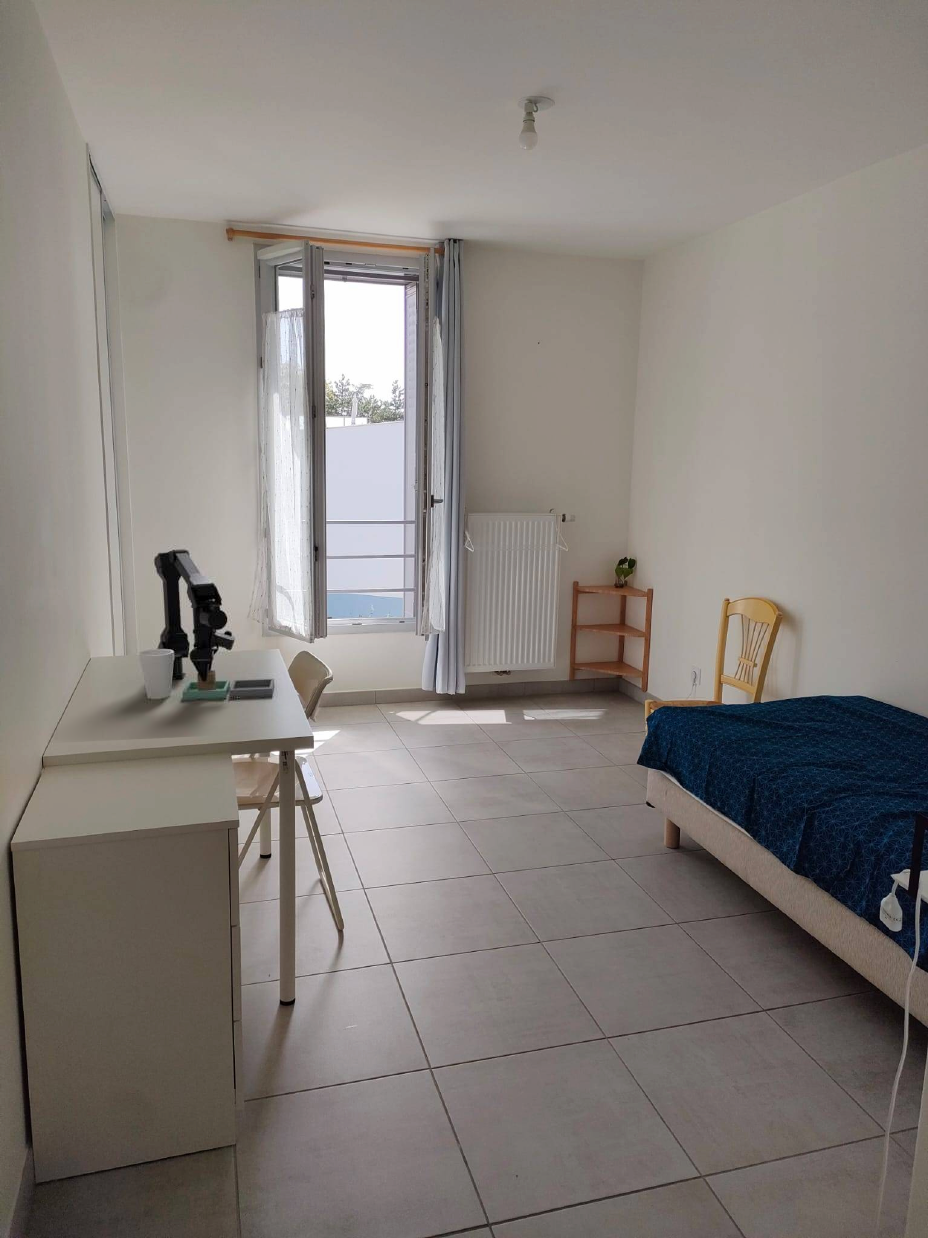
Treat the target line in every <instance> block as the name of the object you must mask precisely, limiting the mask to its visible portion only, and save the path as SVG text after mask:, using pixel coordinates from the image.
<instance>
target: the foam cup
mask: <svg viewBox="0 0 928 1238" xmlns="http://www.w3.org/2000/svg"><path fill="white" fill-rule="evenodd" d="M138 659H139V660H138V661H139V662H140V667H141V671H142V675H143V676H142V677H143V682H144V686H145V691H146V696H147V698H148V697H149V698H148V699H150V698H151V699H150V700H161V699H162V698H163V699H166V698H165V697H167V698H169V696H170V695H172V685H173V684H172V683H173V679H172V674H173V661H174V651H173V650H169V649H157V648H154V649H149V650H143V651H140V652H139V653H138ZM170 697H171V696H170Z"/></svg>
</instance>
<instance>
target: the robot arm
mask: <svg viewBox="0 0 928 1238" xmlns="http://www.w3.org/2000/svg"><path fill="white" fill-rule="evenodd" d="M153 560H154V561H153V563H154V567H155V571H156V573H157V575H158V577H160V580H161V581H162V593H163V608H164V609H163V610H164V613H163V614H164V626H165V627H164V629H163V630H162V631H161V634H160V635H159V636H160V637H159V638H160V639H159V643H158V646H157V648H156V649H169V650H173V651H174V661H173V674H172V680H183V679H184V678H185V677H186V672H184V667H183V659H185V658H186V659H187V658H189V660H190V662H191V663H192V664H193V667H194V668H195V670H196V671H197V674H199V676H200V678H201V679H202V681H203V682H204V681H207V674H208V670H212V666H213V660H214V659H215V654H216V653H217V652H218V651H219V649H220V648H224V649H226V650H227V651H231V650H232V649H233V646H234V643H235V640H236V637H235V636H233V633H232V631H231V630H228V629H226V630H225V631H224V632H218V630H219V631H220V630H222V629H224V628H225V627H226V625H227V624H228V616H227V614H226V612H225V611H223V610H221V607H222V605H223V603H222V601H223V600H222V597H221V595H220V593H219V590H218V587H217V585H216V584H215V583H214V581H213V580H211V579H210V578H209V577H207V576H205V575H202V573H201V572H200V570H199V569H198V568H197V566H196V564H195V563H194V561H193V559H192V558H191V557H190V552H189V550H188V549H185V548H181V549H180V548H179V549H172V550H170V551H167V552H158V554H157V555H156V556H154V559H153ZM181 578H182V579H183V580H184V582H185V583H186V586H187V587H186V595H187V598H188V600H189V602H190V603H191V606H190V608H191V609H192V620H193V629H192V635H193V640H194V642H193V649H192V650H191V651H190V646H191V645H190V642H189V635H188V633H187V632H185V630H184V629H183V627H182V615H181V599H180V598H181V597H180V596H181V595H180V579H181Z"/></svg>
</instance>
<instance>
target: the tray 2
mask: <svg viewBox="0 0 928 1238" xmlns="http://www.w3.org/2000/svg"><path fill="white" fill-rule="evenodd" d="M274 690H275V679H274V678H261V679H258V678H257V679H256V678H255V679H254V678H253V679H233V680H232V682H231V684H230V690H229V699H230V698H233V699H240V698H239V697H258V698H273V695H274ZM237 697H238V698H237Z"/></svg>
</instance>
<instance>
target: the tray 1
mask: <svg viewBox="0 0 928 1238" xmlns="http://www.w3.org/2000/svg"><path fill="white" fill-rule="evenodd" d="M230 687H231V680H216V690H203V691H198V681H188V682H187V684H186V685H185V686H184V689H183V690H182V701H198V700H197V699H207V700H224V698H226V697H227V698H228V696H227V695H229V694H230V692H229V690H230ZM227 698H226V699H227Z"/></svg>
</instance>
